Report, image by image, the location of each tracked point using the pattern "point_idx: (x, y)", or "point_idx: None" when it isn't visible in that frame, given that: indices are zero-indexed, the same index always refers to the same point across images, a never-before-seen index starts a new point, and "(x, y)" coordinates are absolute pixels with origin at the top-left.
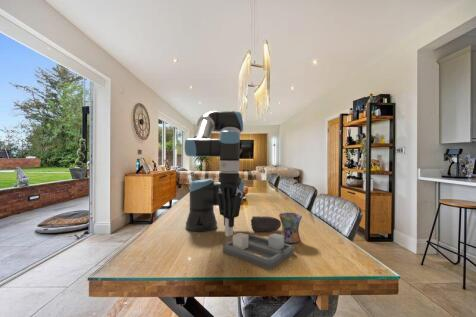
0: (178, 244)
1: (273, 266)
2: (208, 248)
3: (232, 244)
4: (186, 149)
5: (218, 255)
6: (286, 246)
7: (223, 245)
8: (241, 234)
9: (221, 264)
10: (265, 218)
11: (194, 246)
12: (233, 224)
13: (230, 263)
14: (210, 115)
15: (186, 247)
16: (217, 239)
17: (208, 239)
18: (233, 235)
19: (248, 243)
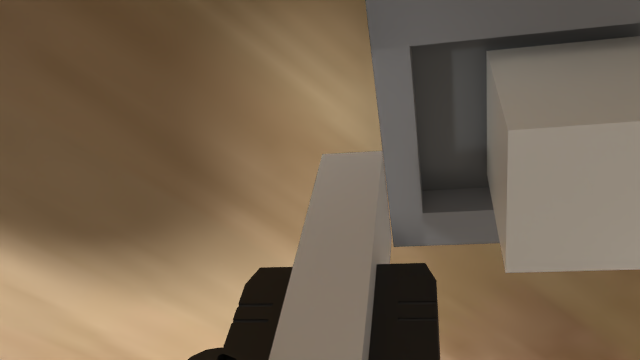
0: (27, 322)
1: None
2: (235, 229)
3: (416, 118)
4: None
5: (425, 261)
6: None
7: (403, 241)
8: (590, 173)
9: (570, 335)
10: None
11: (127, 275)
12: (435, 303)
13: (622, 290)
14: None
15: (117, 318)
16: (44, 17)
17: (3, 94)
18: (517, 272)
19: (632, 10)
